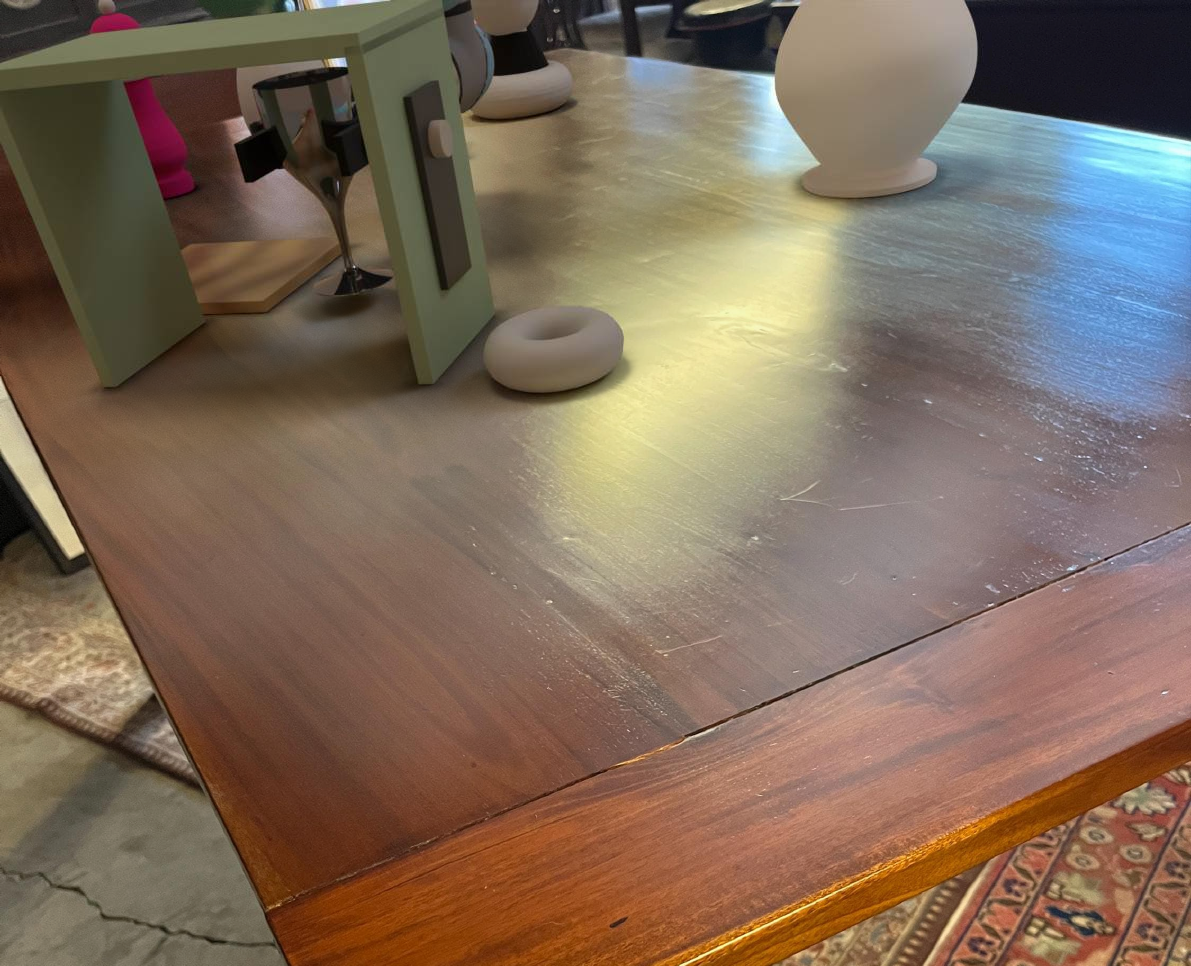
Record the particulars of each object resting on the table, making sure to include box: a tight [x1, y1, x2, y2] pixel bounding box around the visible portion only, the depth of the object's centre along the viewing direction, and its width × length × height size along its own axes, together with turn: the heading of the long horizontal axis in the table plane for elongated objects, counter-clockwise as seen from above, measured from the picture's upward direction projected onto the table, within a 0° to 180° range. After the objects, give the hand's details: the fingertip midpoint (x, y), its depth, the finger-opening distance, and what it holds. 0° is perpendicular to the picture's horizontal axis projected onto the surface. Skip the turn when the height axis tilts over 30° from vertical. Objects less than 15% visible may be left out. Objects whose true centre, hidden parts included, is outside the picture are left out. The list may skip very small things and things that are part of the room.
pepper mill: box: [89, 0, 195, 200], centre depth 130 cm, size 7×7×20 cm
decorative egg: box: [236, 60, 326, 134], centre depth 141 cm, size 12×12×15 cm
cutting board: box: [180, 235, 351, 315], centre depth 104 cm, size 18×18×1 cm
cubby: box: [0, 0, 496, 388], centre depth 80 cm, size 30×14×21 cm, turn 75°
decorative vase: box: [774, 0, 978, 199], centre depth 97 cm, size 18×18×25 cm
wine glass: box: [252, 66, 395, 297], centre depth 89 cm, size 8×8×15 cm
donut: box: [482, 305, 625, 394], centre depth 77 cm, size 10×3×10 cm
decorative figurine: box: [469, 0, 574, 120], centre depth 143 cm, size 15×15×20 cm
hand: (292, 160), depth 84 cm, fingers closed on wine glass, 8 cm apart
